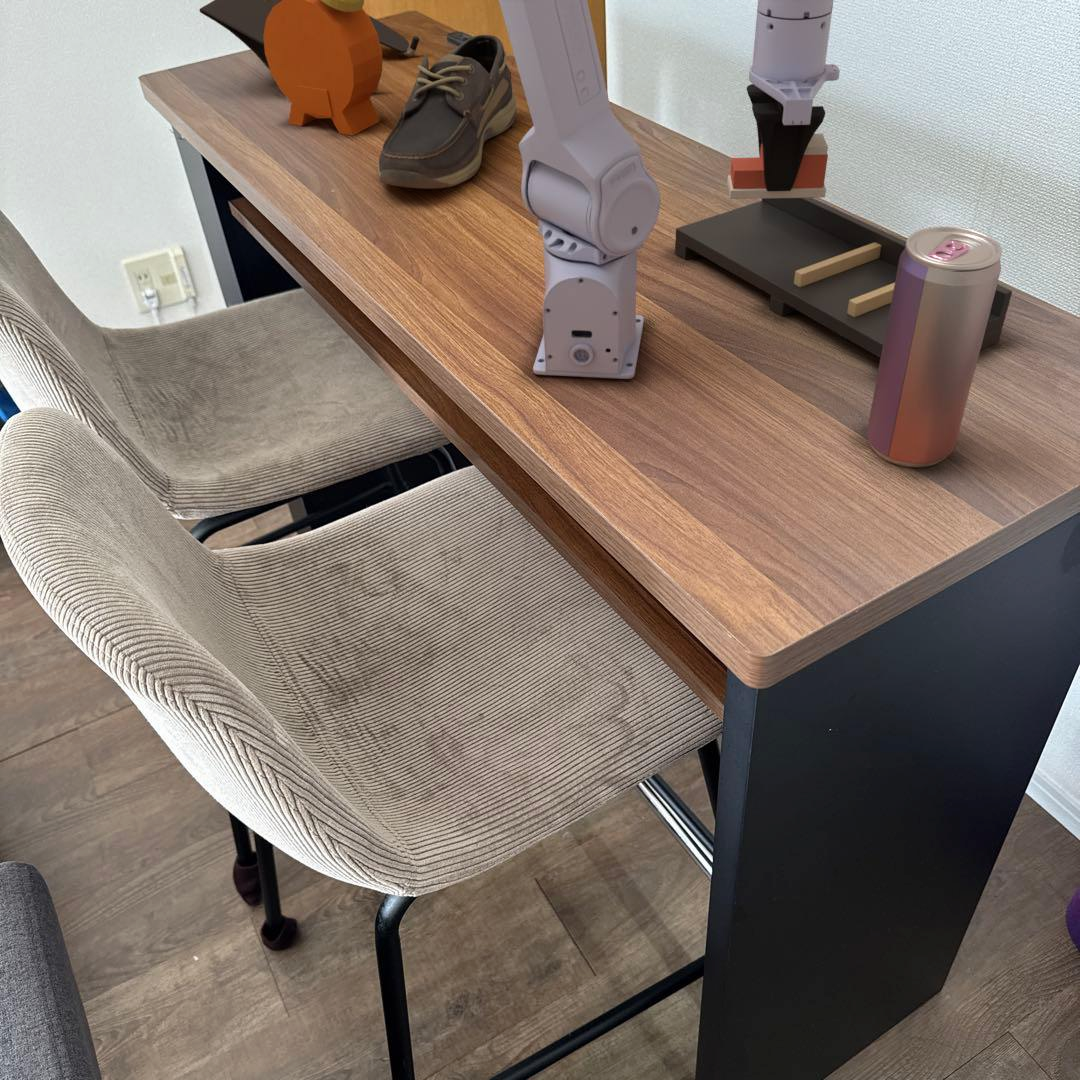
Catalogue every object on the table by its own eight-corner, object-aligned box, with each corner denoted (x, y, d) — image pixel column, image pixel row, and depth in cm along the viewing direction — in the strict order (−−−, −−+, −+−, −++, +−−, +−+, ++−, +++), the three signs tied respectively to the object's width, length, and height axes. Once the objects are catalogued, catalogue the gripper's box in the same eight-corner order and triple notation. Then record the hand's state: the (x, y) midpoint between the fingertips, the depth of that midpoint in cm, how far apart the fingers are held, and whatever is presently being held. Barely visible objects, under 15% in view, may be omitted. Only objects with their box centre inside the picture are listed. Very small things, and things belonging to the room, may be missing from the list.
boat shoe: (355, 203, 111) (338, 98, 104) (441, 108, 132) (431, 15, 125) (455, 209, 108) (444, 102, 101) (525, 111, 130) (520, 17, 123)
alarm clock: (393, 121, 129) (369, -64, 116) (362, 138, 125) (333, -52, 112) (309, 106, 135) (277, -72, 122) (277, 122, 131) (240, -61, 118)
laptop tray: (351, 147, 139) (371, 83, 133) (189, 61, 137) (202, -9, 130) (407, 90, 156) (427, 30, 150) (264, 11, 153) (279, -52, 147)
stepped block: (819, 182, 92) (826, 132, 90) (825, 197, 90) (832, 147, 87) (727, 183, 93) (730, 134, 90) (730, 199, 90) (734, 149, 88)
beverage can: (848, 447, 75) (884, 248, 65) (894, 412, 78) (934, 216, 68) (925, 482, 71) (974, 277, 61) (969, 443, 74) (1023, 242, 64)
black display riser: (998, 342, 84) (1013, 290, 81) (899, 385, 80) (910, 333, 77) (765, 223, 103) (769, 177, 100) (674, 253, 99) (676, 207, 96)
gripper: (863, 35, 76) (836, 215, 85) (832, -16, 87) (812, 149, 96) (764, 38, 77) (748, 217, 86) (746, -13, 88) (733, 150, 97)
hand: (776, 181), depth 91 cm, fingers closed on stepped block, 3 cm apart
